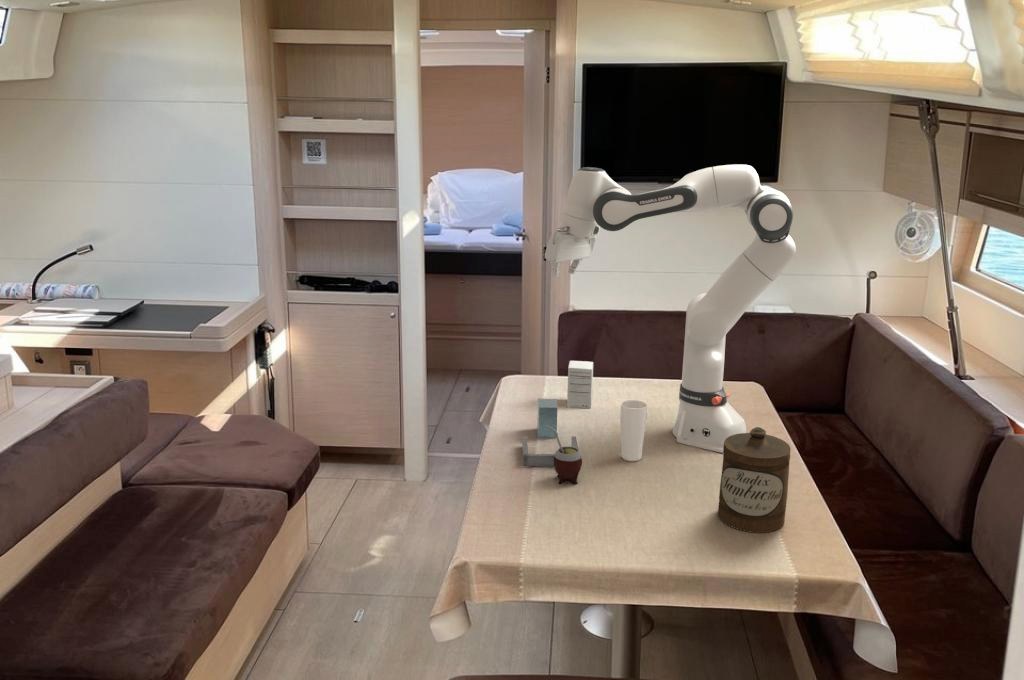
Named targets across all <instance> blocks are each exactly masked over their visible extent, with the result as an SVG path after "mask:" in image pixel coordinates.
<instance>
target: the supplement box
mask: <svg viewBox="0 0 1024 680" xmlns="http://www.w3.org/2000/svg"><path fill="white" fill-rule="evenodd" d="M567 369H568V371H567V394H566V395H567V398H566V400H567V401H566V402H567V404H566V407H568V408H574V409H575V408H576V409H592V404H593V386H594V385H593V380H594V378H593V377H594V362H593V361H586V360H584V361H583V360H569V361H568V367H567Z"/></svg>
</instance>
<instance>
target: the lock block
mask: <svg viewBox="0 0 1024 680" xmlns="http://www.w3.org/2000/svg"><path fill="white" fill-rule="evenodd" d="M546 424H547V425H548V426H550V427H552V428H553V429H554V430H555V431H556V432H557V433H558V403H557V399H556V398H537V422H536V425H537V427H536V429H537V430H538V431H537V438H538V439H557V438H556V436H555V434H554V432H553V431H552V430H551V429H550V428H549V427H547V426H546Z"/></svg>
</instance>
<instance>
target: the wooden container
mask: <svg viewBox="0 0 1024 680" xmlns="http://www.w3.org/2000/svg"><path fill="white" fill-rule="evenodd" d="M722 455H723V457H722V466H721V475H720V476H721V477H720V482H719V483H720V484H719V494H718V505H717V507H718V509H717V515H718V518H719V519H720V521H721V522H722V521H723V522H722V523H723V524H725V523H726V524H725V525H727V526H728V525H730V526H733V527H735V528H738V529H741V530H740V531H742V530H745V531H744V532H747V531H751V532H750V533H756V532H762V533H770V532H769V531H771V532H774V531H773V530H775V531H777V530H779V529H781V528H782V527H783V526H784V524H785V518H786V509H787V500H788V488H789V478H790V477H789V475H790V473H789V472H790V459H791V446H790V445H789V443H788V442H786V441H784V440H783V439H781V438H779V437H776V436H773V435H770V434H767V431H766V430H765V429H763V428H762V427H759V426H756V427H754V428H752V429H751V430H750V432H746V433H740V434H735V435H732V436H729V437H728V438H726V439H725V441H724V448H723V453H722ZM730 526H729V527H730ZM733 527H732V528H733ZM780 527H781V528H780ZM735 528H734V529H735ZM738 529H737V530H738Z"/></svg>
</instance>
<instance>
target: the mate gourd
mask: <svg viewBox="0 0 1024 680" xmlns="http://www.w3.org/2000/svg"><path fill="white" fill-rule="evenodd" d="M546 426H547V427H549V428H550V429H551V430H552V431H553V432H554V434H555V436H556V438H555V439H556V441H557V444H558V446H559V448H558V449H557V450H556V451H555V452H554V453H553V454H554V460H553V461H554V471H555V472H556V474H557V475H556V478H557V477H558V480H559V481H558V482H557V483H558V485H562V484H565V483H567V482H568V483H571V484H573V485H578V477H579V473H580V471H581V469H582V466H583V458H582V454H581V452H580V449H579V450H578V449H576V448H574V447H571V446H562V444H561V440H560V437H559V433H558V431H557V432H556V431H555V430H554V429H553V428H552V427H550V426H548V425H547V424H546Z"/></svg>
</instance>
